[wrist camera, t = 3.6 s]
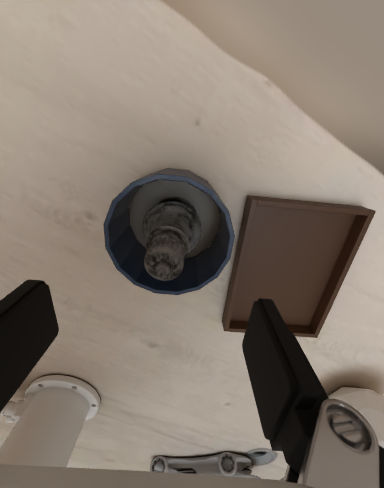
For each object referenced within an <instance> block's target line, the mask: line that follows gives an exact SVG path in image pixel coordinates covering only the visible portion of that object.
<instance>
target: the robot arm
mask: <svg viewBox="0 0 384 488" xmlns="http://www.w3.org/2000/svg"><path fill="white" fill-rule="evenodd" d="M58 331H59V328H58V323H57V319H56V315H55V310H54V306H53V302H52V298H51V293H50V289H49V286H48V285H47V284H46V283H45V282H44V281H41V280H27V281H25V282H24V283H23V284H21V285H20V286H19V287H17V288H16V289H15V290H14V291H12V292H11V293H10V294H8V295H7V296H6V297H5V298H3V299H2V300H1V301H0V416H6V415H7V417H6V419H5V422H16V424H15V426H14V428H13V429H12V431H11V432H10V434H9V435H8V437H7V438H6V440H5V441H4V443H3V444H2V446H1V448H0V488H384V448H383V447H381V446H380V445H379V444H378V439H377V436H376V434H375V432H374V430H373V428H372V427H371V425H370V424H369V423H368V421H367V420H366V419H365V418H364V417H363V416H362V415H361V414H360V413H359V412H358V411H357V410H356V409H355V408H353V407H352V406H351V405H349V404H347V403H345V402H343V401H341V400H338V399H329V398H328V396H327V394H326V392H325V390H324V388H323V387H322V385H321V383H320V381H319V379H318V377H317V376H316V374H315V372H314V370H313V368H312V367H311V365H310V363H309V361H308V359H307V357H306V356H305V354H304V352H303V350H302V348H301V346H300V345H299V343H298V341H297V339H296V337H295V336H294V334H293V333H292V332H291V331H290V330H288V328H287V326H286V324H285V322H284V320H283V318H282V316H281V315H280V313H279V311H278V309H277V307H276V305H275V303H274V301H273V300H272V299H263V298H259V299H258V300H257V301H254V303H253V306H252V310H251V314H250V317H249V321H248V325H247V328H246V332H245V335H244V339H243V344H242V347H243V353H244V357H245V361H246V365H247V369H248V373H249V377H250V381H251V385H252V389H253V393H254V397H255V401H256V405H257V409H258V413H259V417H260V421H261V425H262V429H263V433H264V436H265V438H266V439H268V440H270V444H271V447H272V450H273V451H283V453H284V457H285V460H286V462H287V463H288V466H287V470H286V473H285V476H284V479H283V481H278V480H269V479H256V478H244V477H231V476H217V475H200V474H182V473H164V472H147V471H128V470H108V469H89V468H69V467H66V466H67V463H68V461H69V458H70V456H71V453H72V451H73V448H74V446H75V443H76V441H77V438H78V436H79V434H80V431H81V429H82V426H83V424H84V422H85V421H87V420H90V419H91V418H93V417H94V416H95V415H96V414H97V412H98V409H99V407H100V397H99V395H98V393H97V392H96V390H95V389H94V388H93V387H91V386H90V385H89V384H87V383H85V382H84V381H82V380H79V379H76V378H74V377H69V376H64V375H49V376H44V377H41V378H38V379H36V380H35V381H33V382H32V383H31V384H30V386H29V387H28V389H27V390H26V393H25V400H23V399H20V400H19V401H18V402H12V401H9V400H10V399H11V398H12V396H13V395H14V394H15V392H16V391H17V389H18V388H19V387H20V385H21V384H22V383H23V381H24V380H25V379H26V377H27V376H28V375H29V373H30V372H31V370H32V369H33V368H34V366H35V365H36V364H37V362H38V361H39V360H40V358H41V357H42V356H43V354H44V353H45V351H46V350H47V349H48V347H49V346H50V345H51V343H52V342H53V341H54V339H55V338H56V336H57V334H58Z"/></svg>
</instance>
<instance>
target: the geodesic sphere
mask: <svg viewBox="0 0 384 488" xmlns="http://www.w3.org/2000/svg"><path fill="white" fill-rule="evenodd" d="M328 398H329V399H338V400H341V401H343V402H345V403H347V404H349V405H351V406H352V407H353V408H355V409H356V410H357V411H358V412H359V413H360V414H361V415H362V416H363V417H364V418H365V419H366V420H367V421H368V423H369V424H370V425H371V427H372V428H373V430H374V432H375V434H376V436H377V439H378V444H379V445H380V446H381V447H383V448H384V396H383V395H381V394H379V393H377V392H374V391H372V390H370V389H362V388H349V387H341V388H340V389H338V390H337V391H335V392H334V393H332V394H331V395H329V396H328Z"/></svg>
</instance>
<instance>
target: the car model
mask: <svg viewBox="0 0 384 488" xmlns="http://www.w3.org/2000/svg"><path fill="white" fill-rule="evenodd" d="M250 465H252V462H251V460H250V459H249V458H247V457H245V456H241V455H237V454H233V453H230V452H223V453H221V454H218V455H213V456H208V457H198V458H166V457H162V456H157V457H156V458H155V459H154V460H153V461H152V463H151V466H150V472H164V473H182V474H200V475H217V476H231V477H244V478H256V479H261V478H259V477H258V476H254V475H250V474H251V472H252V471H251V470H250V469H247V468H245V467H247V466H250ZM154 469H155V470H154Z"/></svg>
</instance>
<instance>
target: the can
mask: <svg viewBox="0 0 384 488" xmlns="http://www.w3.org/2000/svg"><path fill="white" fill-rule="evenodd" d="M158 179H163V180H173V181H183V182H187V183H189V184H191V185H193V186H195V187H196V188H198V189H200V190H202V191H204V192H206V193H207V194H209V195H210V196H211V197H212V199H213V200H214V201H215V203H216V204H217V205H218V208H219V212H220V222H219V228H218V233H217V235H216V236H215V238H214V240H213V241H212V243H211V244H210V246H209V247H208V248H206V249H205V250H204V251H202V252H201V253H200V254H198V255H197V256H194V257H191V258H187V259H184V266H183V269H182V271H181V273H180V274H179V275H178V276H177V277H176V278H174V279H172V280H166V281H163V280H158V279H156V278H154V277H152V276H151V275H150V274H149V273H148V272H147V270H146V268H145V265H144V257H145V254H146V252H147V250H146V249H145V248H144V247H143V246H142V245H141V244H140V243H139V242H138V241H137V239H136V237H135V235H134V233H133V230H132V228H131V226H130V209H129V207H130V205H131V202H132V200H133V197H134V195H135V193H136V191H137V190H138V189H139V188H140V187H141V186H142V185H143V184H146V183H149V182H152V181H155V180H158ZM104 234H105V247H106V250H107V252H108V254H109V255H110V257H111V259H112V261H113V263H114V265H115V267H116V269H117V270H118V271H120V272H121V273H122V274H123V275H124V276H125V277H126V278H127V279H129V280H130V281H131V282H132V283H133V284H134V285H137V286H139V287H142V288H144V289H146V290H149V291H151V292H154V293H160V294H173V295H179V294H183V293H187V292H191V291H195V290H199V289H201V288H202V287H204V286H205V285H207V284H208V283H210V282H211V281H212V280H214V279H215V278H217V277H218V276H219V274H220V273H221V271H222V270H223V268H224V267H225V266H226V264H227V263H228V261H229V260H230V257H231V252H232V247H233V242H234V237H235V235H234V231H233V227H232V222H231V218H230V214H229V211H228V210H227V208H226V206H225V205H224V203H223V202H222V200H221V199H220V197H219V196H218V194H217V193H216V192H215V190H214V189H213V188H212V186H211V185H210V184H209V183H208V181H207V180H205V179H203V178H201V177H200V176H198V175H196V174H194V173H193V172H191V171H189V170H180V169H171V168H167V169H164V170H161V171H157V172H154V173H151V174H148V175H146V176H144V177H142V178H140V179H138V180H136V181H134V182H132V183H131V184H130V185H129V186H127V187H126V188H125V189H124V190H123V191H122V192H121V193H120V194H119V195H118V196H117V197H116V198H115V199H114V200H113V201H112V203H111V206H110V209H109V211H108V214H107V217H106V219H105V222H104Z"/></svg>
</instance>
